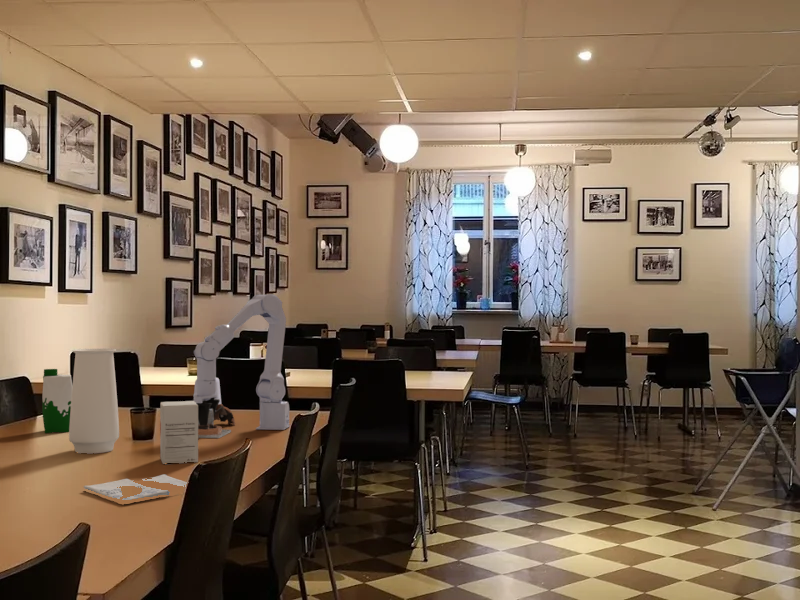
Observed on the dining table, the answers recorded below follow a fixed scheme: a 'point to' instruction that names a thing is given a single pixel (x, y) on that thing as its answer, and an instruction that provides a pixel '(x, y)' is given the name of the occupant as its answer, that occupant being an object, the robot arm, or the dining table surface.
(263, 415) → the robot arm
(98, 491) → the white flat pieces
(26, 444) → the dining table surface
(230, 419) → the pottery mug
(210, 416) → the grey cylinder
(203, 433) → the flange plate
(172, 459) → the supplement box
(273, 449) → the dining table surface
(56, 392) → the milk carton
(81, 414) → the vase
